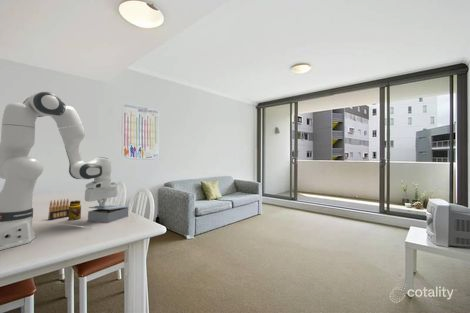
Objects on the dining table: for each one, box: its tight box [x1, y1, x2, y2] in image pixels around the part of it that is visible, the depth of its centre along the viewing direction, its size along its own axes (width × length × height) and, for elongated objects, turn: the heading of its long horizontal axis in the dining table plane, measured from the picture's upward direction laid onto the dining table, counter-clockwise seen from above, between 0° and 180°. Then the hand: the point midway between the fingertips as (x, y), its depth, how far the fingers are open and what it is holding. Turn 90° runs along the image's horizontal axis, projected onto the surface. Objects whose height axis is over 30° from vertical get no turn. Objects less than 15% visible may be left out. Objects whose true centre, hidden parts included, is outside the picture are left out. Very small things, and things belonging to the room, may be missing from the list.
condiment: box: [67, 200, 82, 221], centre depth 133 cm, size 7×8×12 cm
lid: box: [88, 204, 130, 210], centre depth 136 cm, size 16×15×2 cm
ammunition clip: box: [47, 198, 70, 221], centre depth 137 cm, size 11×2×12 cm, turn 151°
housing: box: [87, 207, 129, 224], centre depth 136 cm, size 16×15×6 cm
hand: (101, 206), depth 131 cm, fingers closed
